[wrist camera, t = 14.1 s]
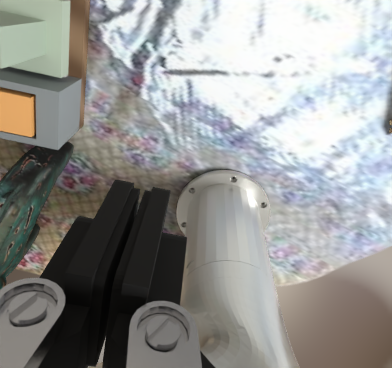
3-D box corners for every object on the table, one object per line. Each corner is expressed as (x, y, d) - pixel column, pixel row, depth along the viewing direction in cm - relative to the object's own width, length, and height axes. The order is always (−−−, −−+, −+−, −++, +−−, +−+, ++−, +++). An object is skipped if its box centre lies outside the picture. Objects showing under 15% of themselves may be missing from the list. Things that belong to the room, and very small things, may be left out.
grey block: (79, 129, 41) (58, 150, 35) (0, 112, 40) (-34, 131, 35) (81, 78, 38) (59, 92, 32) (-4, 60, 37) (-41, 70, 32)
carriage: (68, 74, 36) (22, 98, 28) (1, 59, 36) (-68, 79, 27) (70, 0, 33) (18, 1, 24) (-4, -17, 33) (-83, -22, 24)
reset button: (52, 121, 39) (31, 137, 34) (16, 113, 38) (-10, 128, 34) (52, 86, 37) (30, 97, 32) (14, 78, 36) (-13, 88, 32)
